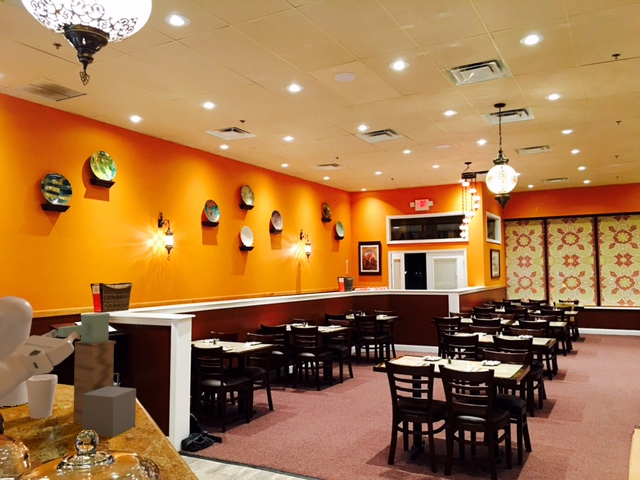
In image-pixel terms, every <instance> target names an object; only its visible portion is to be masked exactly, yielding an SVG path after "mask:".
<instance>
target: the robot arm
mask: <svg viewBox="0 0 640 480" xmlns="http://www.w3.org/2000/svg"><path fill="white" fill-rule="evenodd" d="M33 317H34V310H33V307H32V305H31V304H30V302H29V301H28V300H26V299H24V298H21V297H17V296H12V295H8V296H3V297H0V407H1V408H3V407H2V406H11V407H15V406H16V405H17V406H21V405H24V404H27V403H28V404H29V402H28V394H27V386H26V380H28V379H30V378H31V377H32V376H36V375H44V374H49V373H51V371H53V370H54V367H55V366H57V365H59V364H60V363H62V362H63V361H64V360H65V359H66V358H68V357H69V356H70V355H71V354H73V352H74V351H75V346H74V345H73V342H74V340H75V339H76V338H78V335H77V333H76V332H71V333H70V334H68V337H64V338H58V329H52V330H50V332H46V333H45V334H42V335H30V333H31V328H32V323H33V322H32V320H33Z"/></svg>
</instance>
